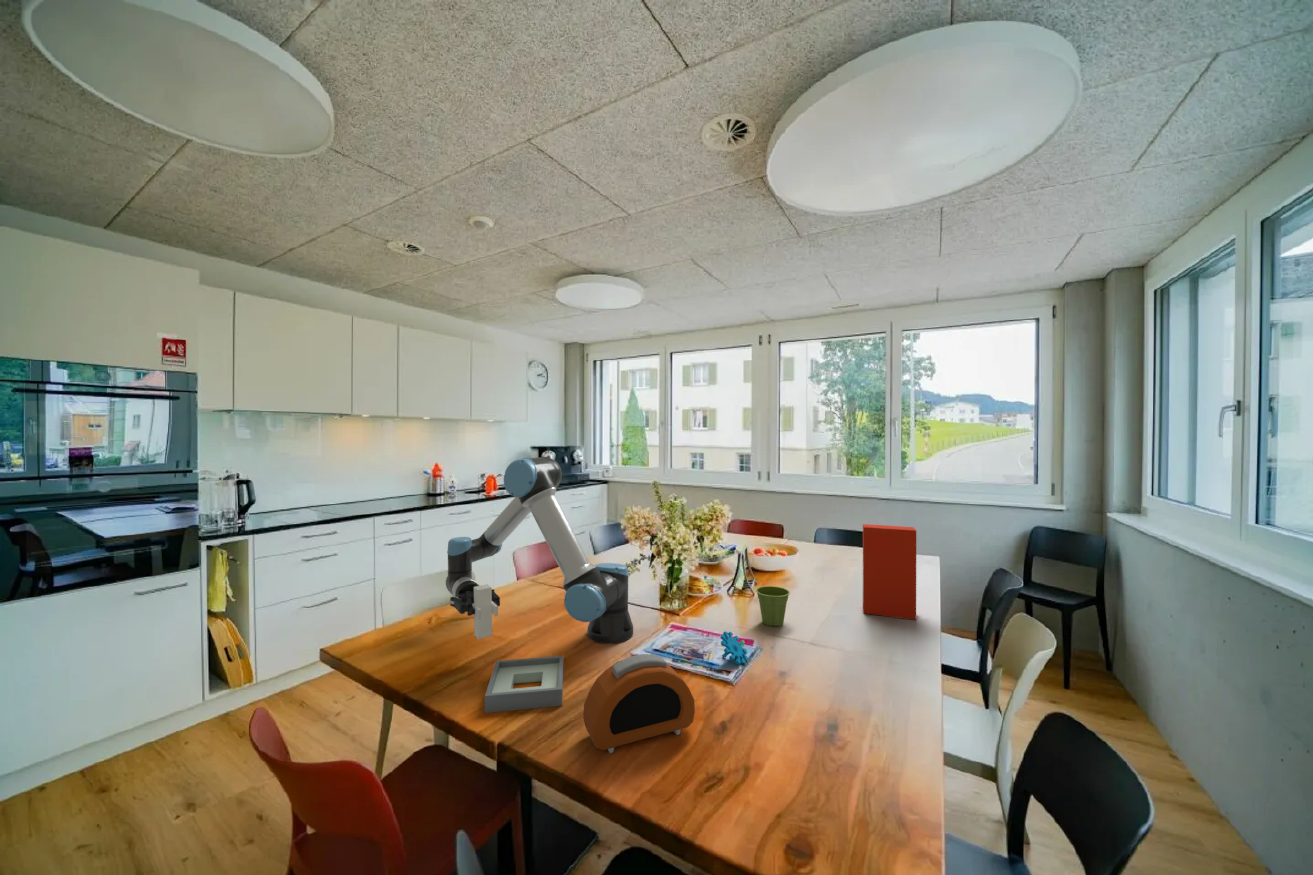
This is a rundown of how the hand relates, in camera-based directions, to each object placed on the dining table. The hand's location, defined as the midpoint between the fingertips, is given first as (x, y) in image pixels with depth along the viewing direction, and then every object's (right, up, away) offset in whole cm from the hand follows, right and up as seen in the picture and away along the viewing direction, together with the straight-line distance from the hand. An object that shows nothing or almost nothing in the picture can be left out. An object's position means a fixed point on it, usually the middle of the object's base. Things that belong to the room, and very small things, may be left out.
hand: (488, 612), depth 136 cm
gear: (+71, -16, +5) cm, 73 cm away
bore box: (+14, -15, -12) cm, 24 cm away
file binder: (+134, -16, +42) cm, 141 cm away
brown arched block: (+44, -16, -30) cm, 55 cm away
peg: (-3, -8, +4) cm, 10 cm away
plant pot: (+89, -16, +33) cm, 96 cm away
